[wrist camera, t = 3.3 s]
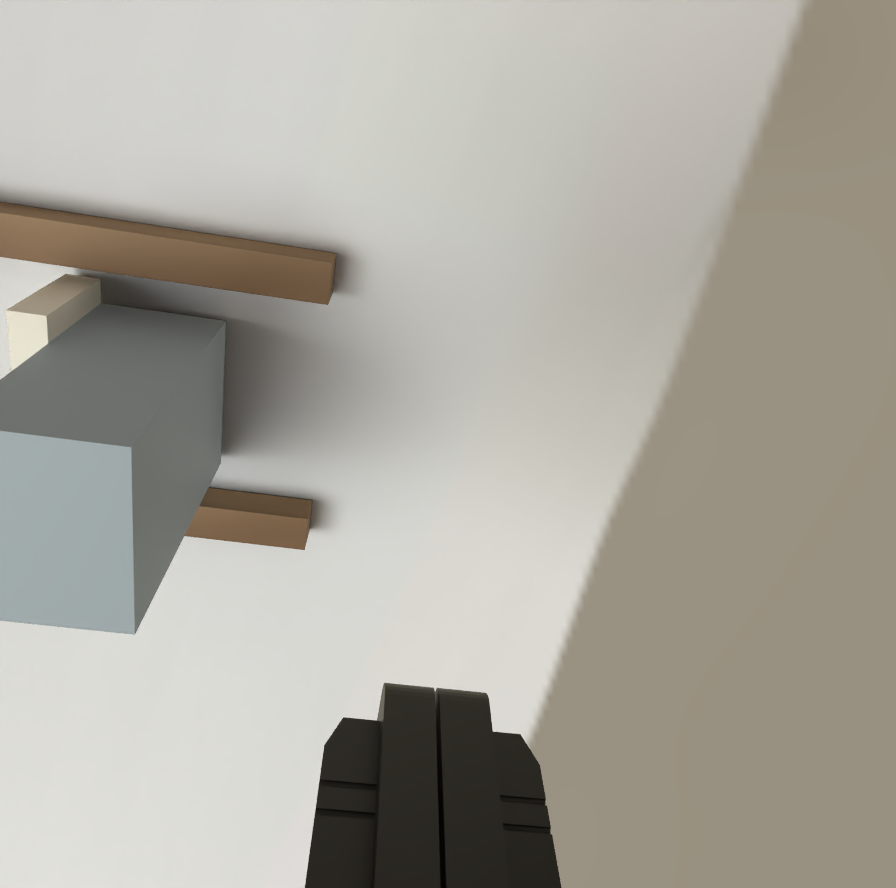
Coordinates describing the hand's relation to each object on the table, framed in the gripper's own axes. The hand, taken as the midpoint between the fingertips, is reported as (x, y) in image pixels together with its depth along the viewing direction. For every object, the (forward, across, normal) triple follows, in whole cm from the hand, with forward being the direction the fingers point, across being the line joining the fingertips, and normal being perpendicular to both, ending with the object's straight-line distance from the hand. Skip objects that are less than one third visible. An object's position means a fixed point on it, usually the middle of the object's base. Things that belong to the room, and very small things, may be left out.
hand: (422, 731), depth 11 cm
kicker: (+11, +7, 0) cm, 13 cm away
